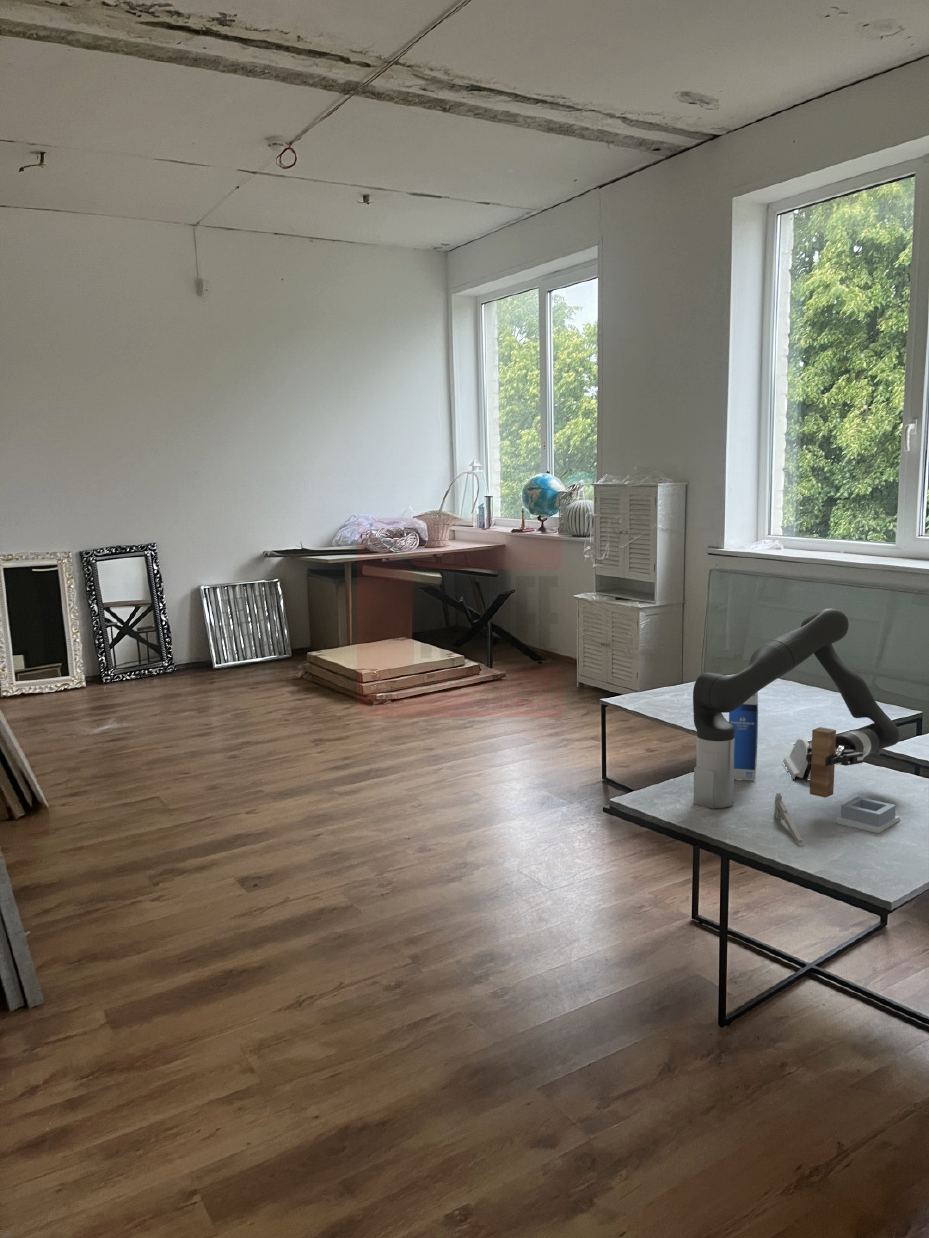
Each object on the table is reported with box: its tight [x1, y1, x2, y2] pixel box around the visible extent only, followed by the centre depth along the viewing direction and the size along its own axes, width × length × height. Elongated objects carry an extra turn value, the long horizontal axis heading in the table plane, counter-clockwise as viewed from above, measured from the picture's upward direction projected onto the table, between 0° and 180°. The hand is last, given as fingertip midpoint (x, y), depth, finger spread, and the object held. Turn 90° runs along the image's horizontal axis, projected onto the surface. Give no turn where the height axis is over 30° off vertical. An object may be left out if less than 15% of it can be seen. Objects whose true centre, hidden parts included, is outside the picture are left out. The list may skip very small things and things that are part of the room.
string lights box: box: [728, 691, 759, 781], centre depth 253 cm, size 13×8×26 cm, turn 161°
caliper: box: [773, 793, 805, 848], centre depth 210 cm, size 20×1×6 cm, turn 176°
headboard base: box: [835, 796, 901, 834], centre depth 215 cm, size 12×10×4 cm
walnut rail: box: [809, 726, 837, 799], centre depth 219 cm, size 4×4×16 cm
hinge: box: [782, 738, 812, 781], centre depth 255 cm, size 17×5×10 cm, turn 170°
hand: (817, 760), depth 217 cm, fingers closed on walnut rail, 4 cm apart
